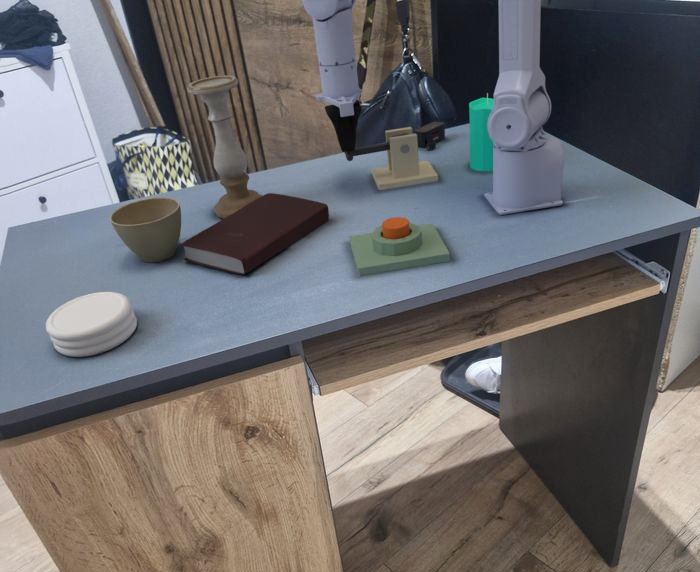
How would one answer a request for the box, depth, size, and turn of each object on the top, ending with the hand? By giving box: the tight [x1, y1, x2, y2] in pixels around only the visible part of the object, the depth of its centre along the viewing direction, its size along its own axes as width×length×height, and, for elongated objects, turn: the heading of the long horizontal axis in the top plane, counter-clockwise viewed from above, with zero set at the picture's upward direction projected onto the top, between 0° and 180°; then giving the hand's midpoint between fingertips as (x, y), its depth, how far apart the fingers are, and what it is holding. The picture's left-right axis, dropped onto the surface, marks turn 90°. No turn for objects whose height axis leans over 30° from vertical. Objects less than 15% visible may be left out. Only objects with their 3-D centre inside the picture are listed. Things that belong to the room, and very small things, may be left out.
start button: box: [381, 216, 410, 239], centre depth 85 cm, size 4×4×2 cm
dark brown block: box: [413, 121, 446, 151], centre depth 121 cm, size 5×7×3 cm, turn 134°
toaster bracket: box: [371, 126, 439, 191], centre depth 107 cm, size 10×8×8 cm
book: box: [180, 192, 330, 276], centre depth 95 cm, size 12×19×3 cm, turn 145°
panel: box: [348, 222, 451, 277], centre depth 86 cm, size 12×10×3 cm
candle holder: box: [186, 75, 263, 220], centre depth 101 cm, size 9×9×20 cm
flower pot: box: [109, 196, 182, 263], centre depth 94 cm, size 10×10×7 cm
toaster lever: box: [343, 133, 409, 162], centre depth 106 cm, size 11×5×2 cm, turn 97°
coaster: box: [45, 291, 138, 358], centre depth 78 cm, size 10×10×4 cm
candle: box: [468, 92, 494, 172], centre depth 106 cm, size 6×6×12 cm
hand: (348, 150), depth 106 cm, fingers closed
